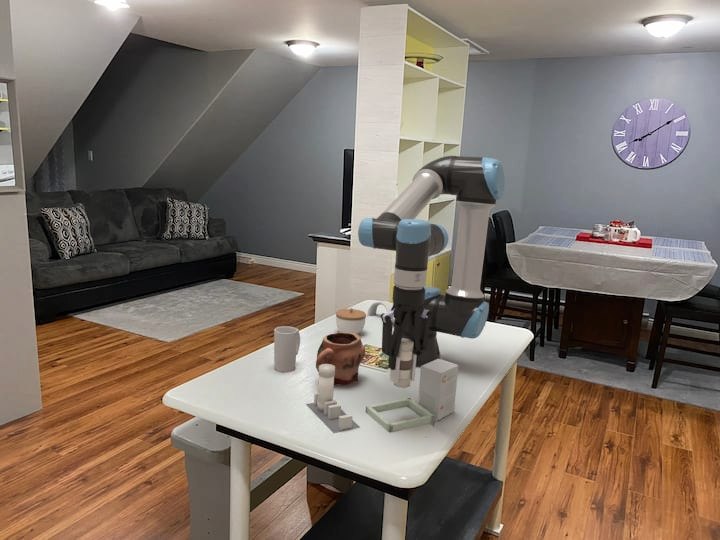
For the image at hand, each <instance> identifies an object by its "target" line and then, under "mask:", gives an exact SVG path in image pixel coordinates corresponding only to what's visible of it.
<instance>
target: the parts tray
mask: <svg viewBox="0 0 720 540" xmlns="http://www.w3.org/2000/svg"><path fill="white" fill-rule="evenodd" d="M403 407H408V409H410V410H412V411H413V412H414V414H416V415H418V417H413V418H410V419H404V420H399V421H396V422H391V421H388V420H387V419H386V418H385V417H384V416H382V415H381V414H380V413H379V412H383V411H388V410H392V409H398V408H403ZM365 413H366V414H367V415H369V416H370V418H371V419H373V420H374V421H375V422H376V423H378V425H380V426H381V427H382V428H383V429H385V431H387V432H388V433H391V432H396V431H400V430H406V429H410V428H414V427H417V426H423V425H427V424H430V425H431V426H432V427H435V420H434V419H435V416H434V415H433V414H431V413H430V412H428V411H427V410H426V409H424V408H423V407H422V406H420V405H419V404H418V402H417V401H415V400H413V399H412V398H411V397H406V398H401V399H396V400H391V401H386V402H380V403H375V404H371V405H366V406H365Z"/></svg>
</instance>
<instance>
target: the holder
mask: <svg viewBox="0 0 720 540" xmlns="http://www.w3.org/2000/svg"><path fill="white" fill-rule="evenodd" d="M334 376H335V366H334V365H331V364H322V365H320V366H319V373H318V389H317V390H318V391H317V392H314V394H313V396H314V397H313V402H310V403H305V405H306V406H307V407H308V408H309V410H310V411H312V413H314V415H315V416H316V417H317V418H318V419H319V420H320V421H321V422H322V423H323V424H324V425H325V426H326V427H327V428H328V430H330V431H331V432H332V433H333V434H336V433H341V432H346V431H350V430H357V429H360V428H361V426H359V424H358V423H356V422H355V421H354V420H353V415H352V414H347V413H345V412H344V410H343V409H342V405H341V403H338V401H337V400H336V399H335V400H334V388H335V387H334V386H335V385H334Z"/></svg>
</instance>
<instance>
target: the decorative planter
mask: <svg viewBox="0 0 720 540" xmlns="http://www.w3.org/2000/svg"><path fill="white" fill-rule="evenodd" d="M316 353H317V354H316V361H315V368H316V371H317V372H318V373H317V374H319V366H320V365H322V364H331V365H334V366H335V376H334V386H335V385H336V386H337V385H338V386H339V385H340V386H344V385H345V386H346V385H349V384H350V385H351V384H353V383H354V382H358V381H359V367H360V365H361V363H362V361H363V360H364V358H365V355H366V348H365V346H364V344H363V342H362V338H361V336H360V335H359V334H358V335H357V334H355V333H344V332H340V331H339V332H334V333H330V334H327V335H325V336H324V337H323V339H322V341H321V343H320V345H319V347H318V350H317V352H316Z"/></svg>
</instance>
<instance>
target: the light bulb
mask: <svg viewBox="0 0 720 540" xmlns="http://www.w3.org/2000/svg"><path fill="white" fill-rule="evenodd" d="M413 345H414V341H413V340H411V339H406V338H402V340H401V344H400V348H399V352H398V356H399V357H400V368H399V381H398V384H395V383H394V382H393V385H394V386H395V387H397V388H402V389H405V388H409V387H410V386H411V382H412V381H411V376H410V373H411V364H412V351H413Z"/></svg>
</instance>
